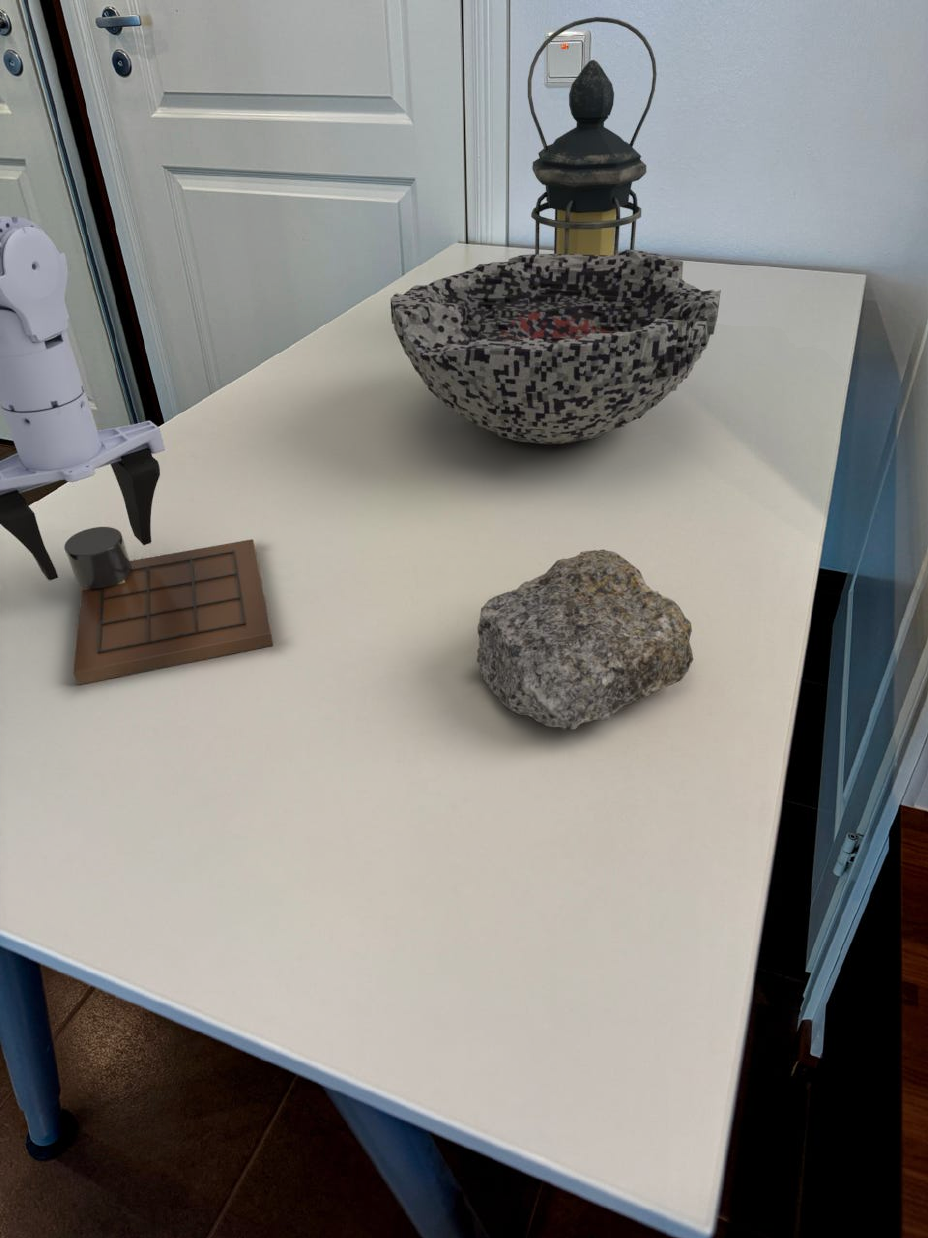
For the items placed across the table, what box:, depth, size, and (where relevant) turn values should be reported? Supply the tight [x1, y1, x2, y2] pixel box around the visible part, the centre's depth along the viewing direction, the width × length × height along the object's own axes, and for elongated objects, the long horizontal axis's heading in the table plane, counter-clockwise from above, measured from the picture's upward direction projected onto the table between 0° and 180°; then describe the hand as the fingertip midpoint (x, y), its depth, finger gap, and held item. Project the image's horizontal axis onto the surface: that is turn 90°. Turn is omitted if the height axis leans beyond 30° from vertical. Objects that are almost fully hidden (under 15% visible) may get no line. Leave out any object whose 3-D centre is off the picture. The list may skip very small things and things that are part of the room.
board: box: [72, 538, 274, 686], centre depth 69 cm, size 14×14×1 cm
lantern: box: [527, 16, 658, 255], centre depth 104 cm, size 14×13×35 cm
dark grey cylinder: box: [64, 526, 132, 589], centre depth 71 cm, size 4×4×3 cm
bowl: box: [389, 248, 722, 445], centre depth 90 cm, size 31×31×15 cm
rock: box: [476, 549, 694, 730], centre depth 61 cm, size 13×6×15 cm
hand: (97, 556), depth 71 cm, fingers open, 7 cm apart
